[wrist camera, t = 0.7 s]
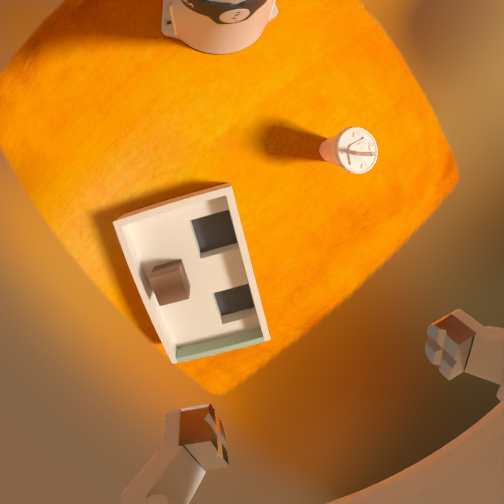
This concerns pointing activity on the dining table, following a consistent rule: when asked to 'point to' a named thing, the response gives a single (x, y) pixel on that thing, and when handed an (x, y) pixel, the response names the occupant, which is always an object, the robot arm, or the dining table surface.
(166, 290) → the walnut block
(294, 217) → the dining table surface
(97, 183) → the dining table surface
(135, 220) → the box
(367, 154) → the smoothie
